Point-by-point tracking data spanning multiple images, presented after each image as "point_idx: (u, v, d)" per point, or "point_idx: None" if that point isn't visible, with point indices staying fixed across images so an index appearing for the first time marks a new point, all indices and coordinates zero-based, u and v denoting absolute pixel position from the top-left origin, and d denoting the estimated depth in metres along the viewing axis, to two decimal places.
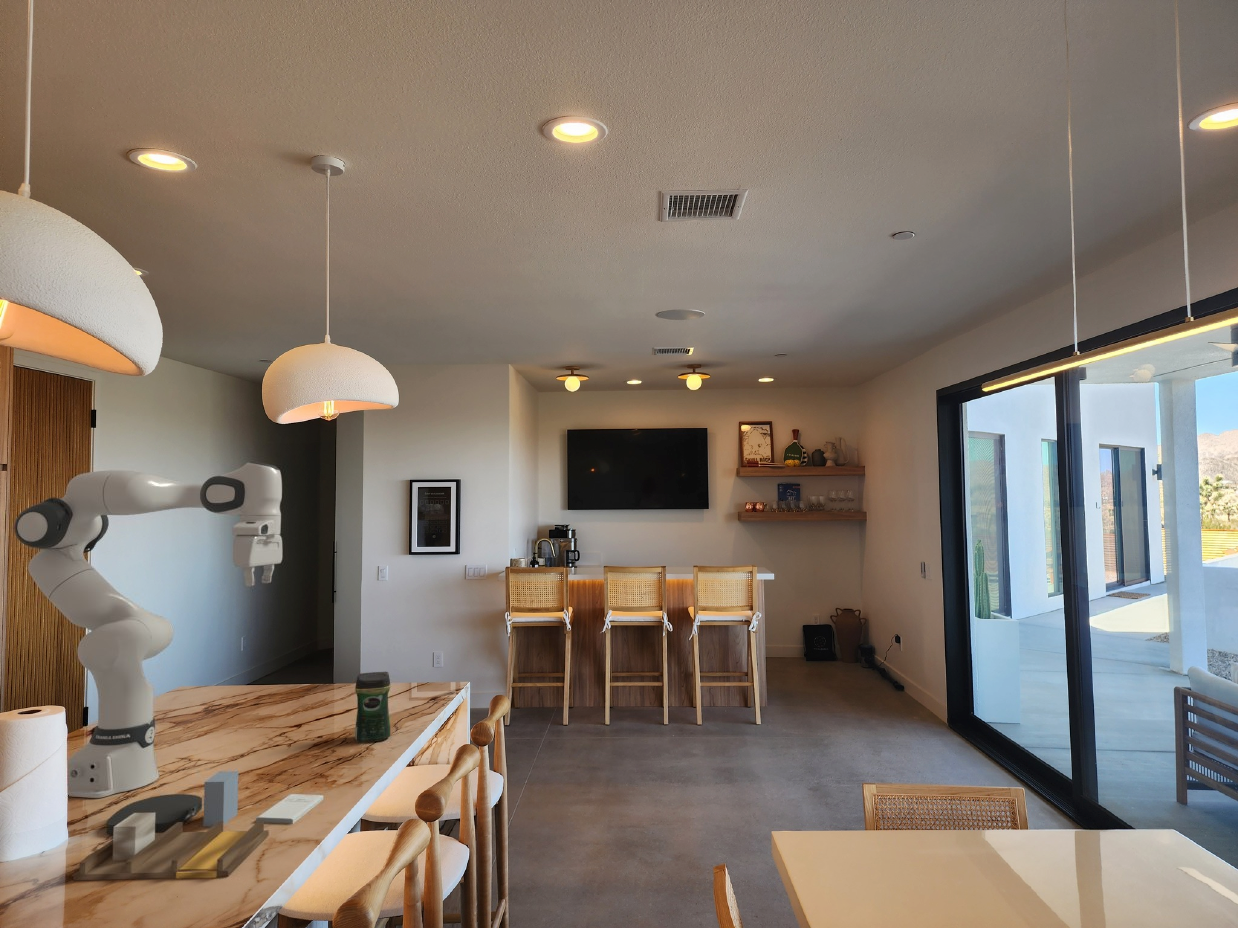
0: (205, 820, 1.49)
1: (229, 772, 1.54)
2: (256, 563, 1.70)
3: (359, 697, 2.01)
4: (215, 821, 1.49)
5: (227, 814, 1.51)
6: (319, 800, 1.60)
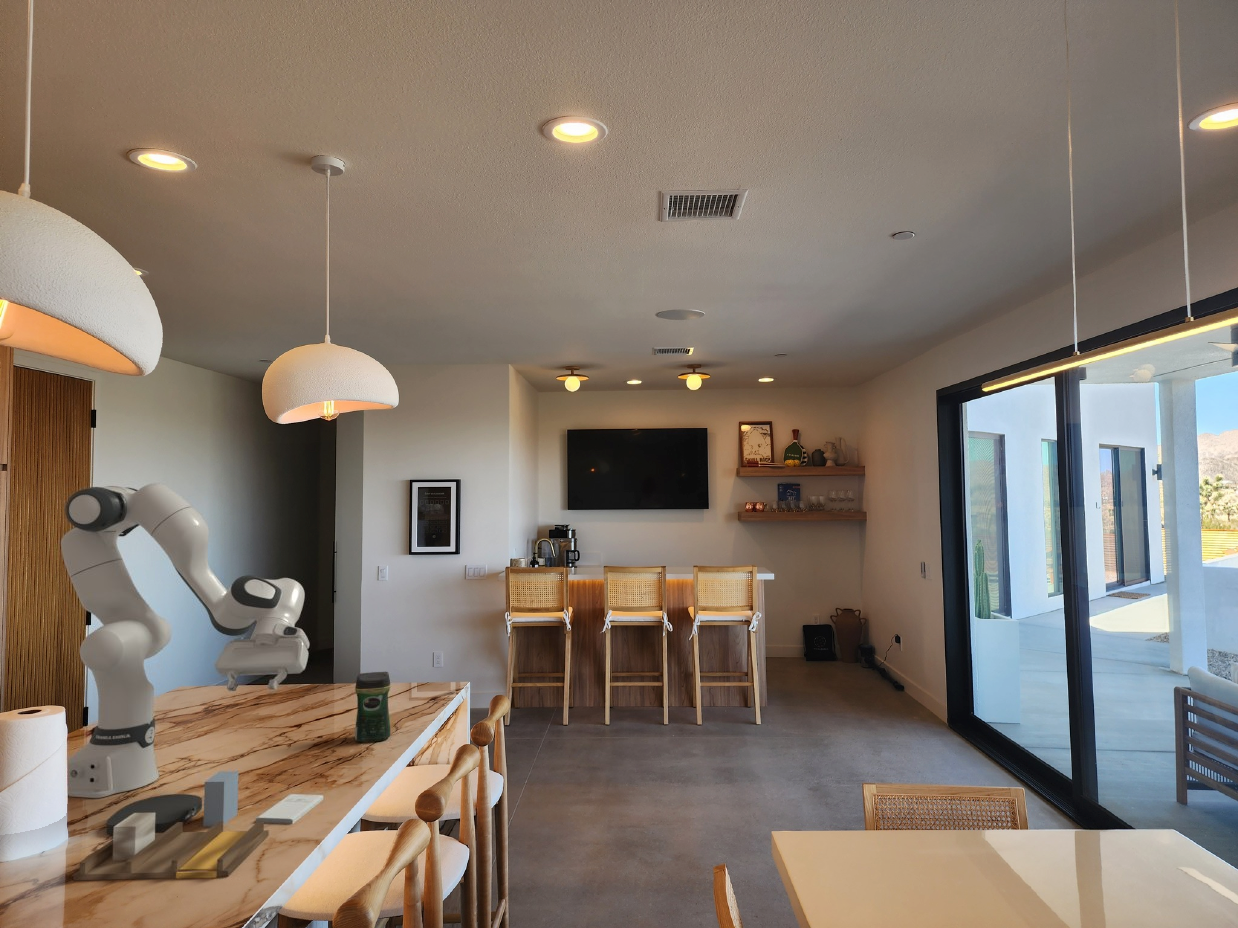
0: (205, 820, 1.49)
1: (229, 772, 1.55)
2: None
3: (359, 697, 2.01)
4: (215, 821, 1.49)
5: (227, 814, 1.51)
6: (319, 800, 1.60)
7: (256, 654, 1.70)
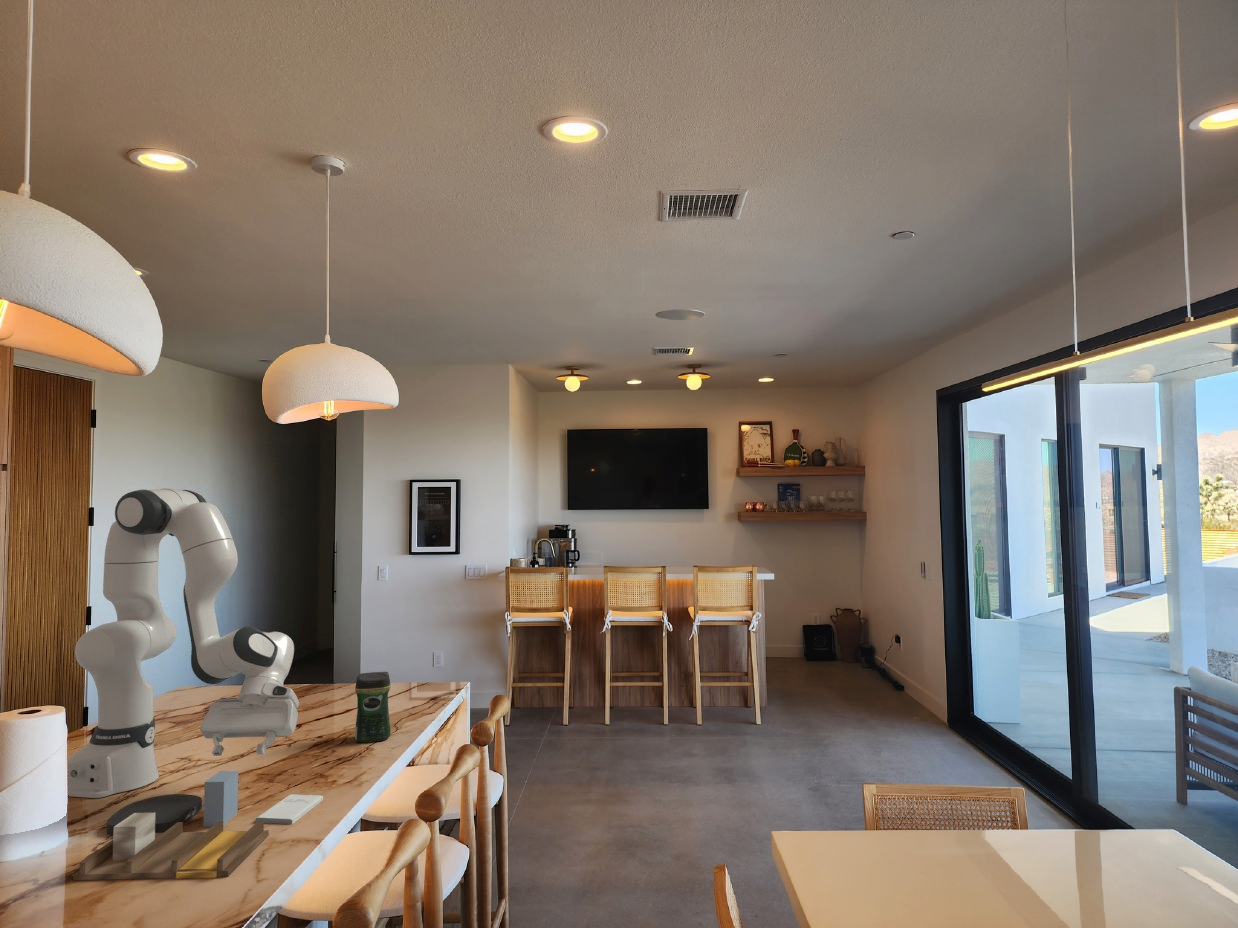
0: (205, 820, 1.49)
1: (229, 772, 1.54)
2: None
3: (359, 697, 2.01)
4: (215, 821, 1.49)
5: (227, 814, 1.51)
6: (319, 800, 1.60)
7: (243, 716, 1.64)
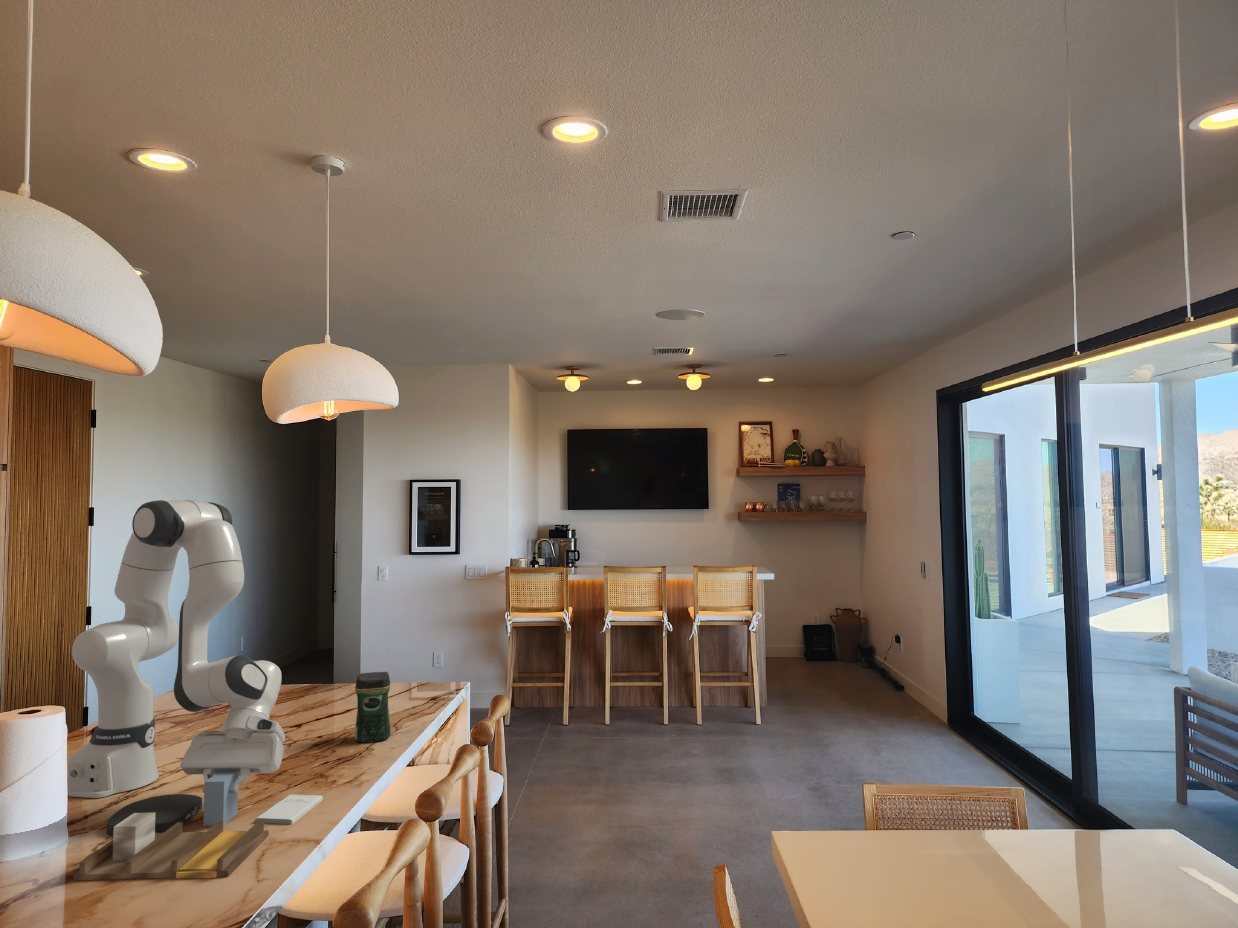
0: (205, 820, 1.49)
1: (229, 772, 1.55)
2: None
3: (359, 697, 2.01)
4: (215, 821, 1.49)
5: (227, 814, 1.51)
6: (318, 800, 1.60)
7: (226, 751, 1.56)
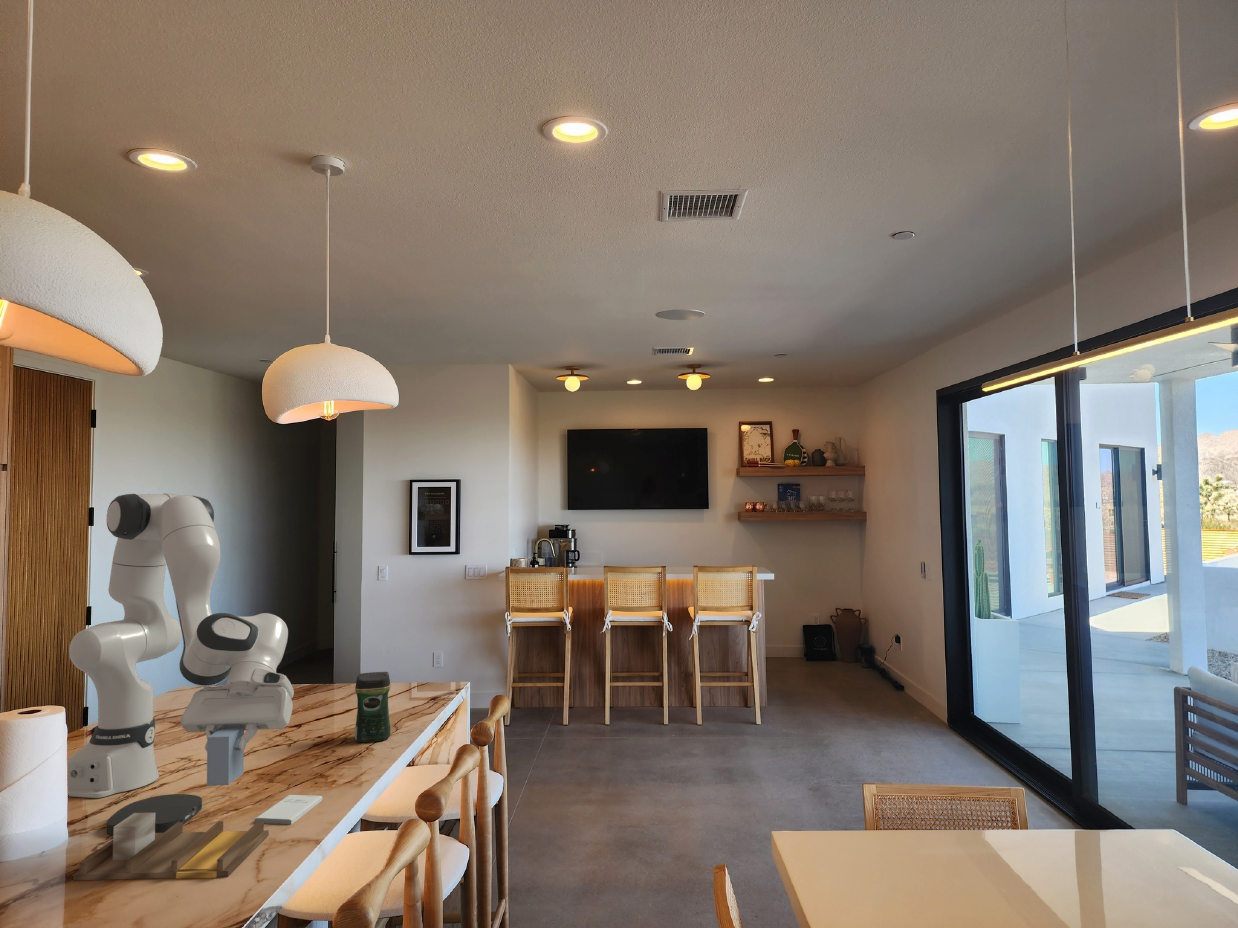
0: (208, 779, 1.36)
1: (234, 728, 1.42)
2: None
3: (359, 697, 2.01)
4: (219, 780, 1.36)
5: (233, 773, 1.38)
6: (318, 801, 1.60)
7: (230, 706, 1.43)
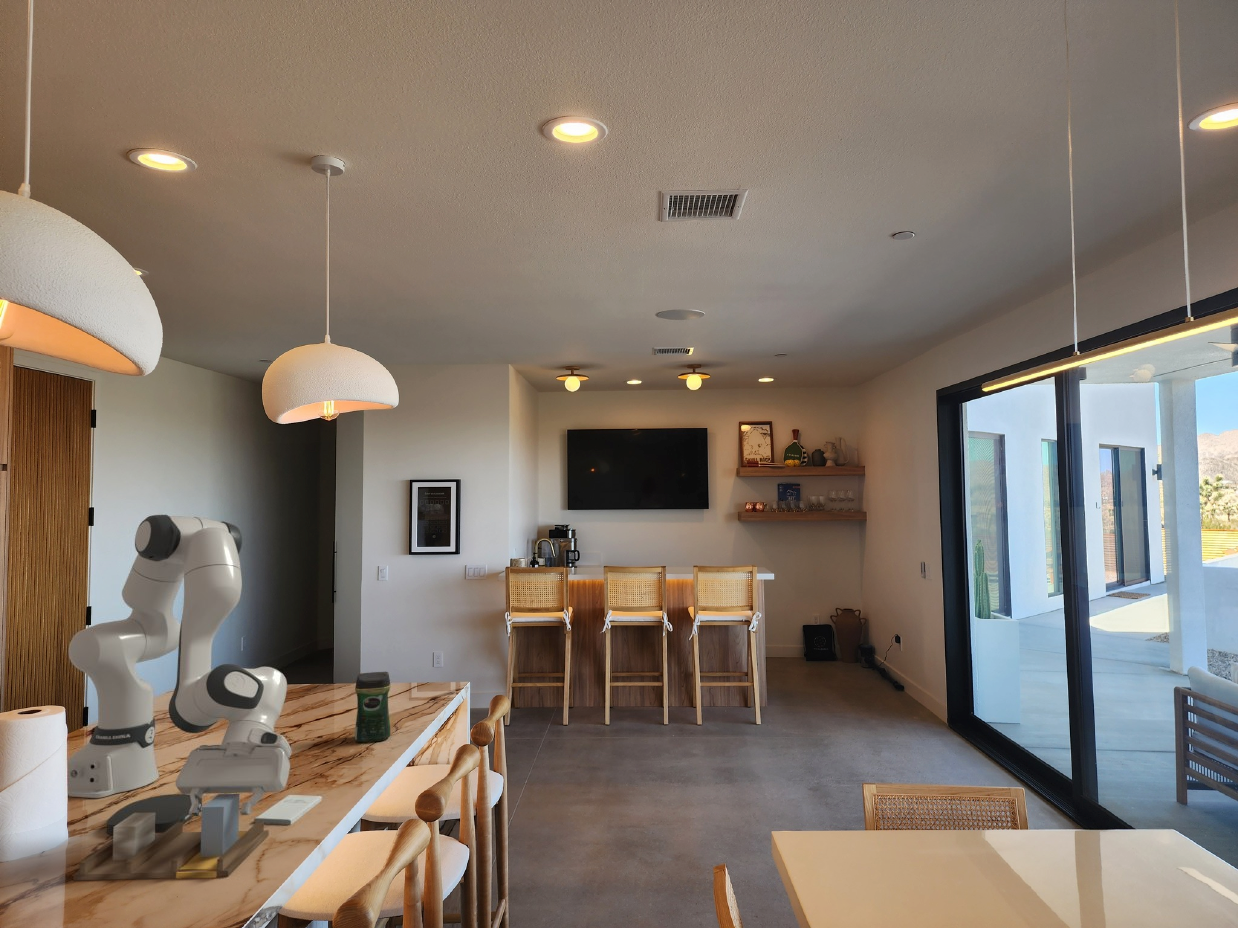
0: (202, 850, 1.33)
1: (229, 795, 1.39)
2: None
3: (359, 697, 2.01)
4: (213, 851, 1.33)
5: (227, 843, 1.35)
6: (317, 801, 1.60)
7: (226, 768, 1.41)
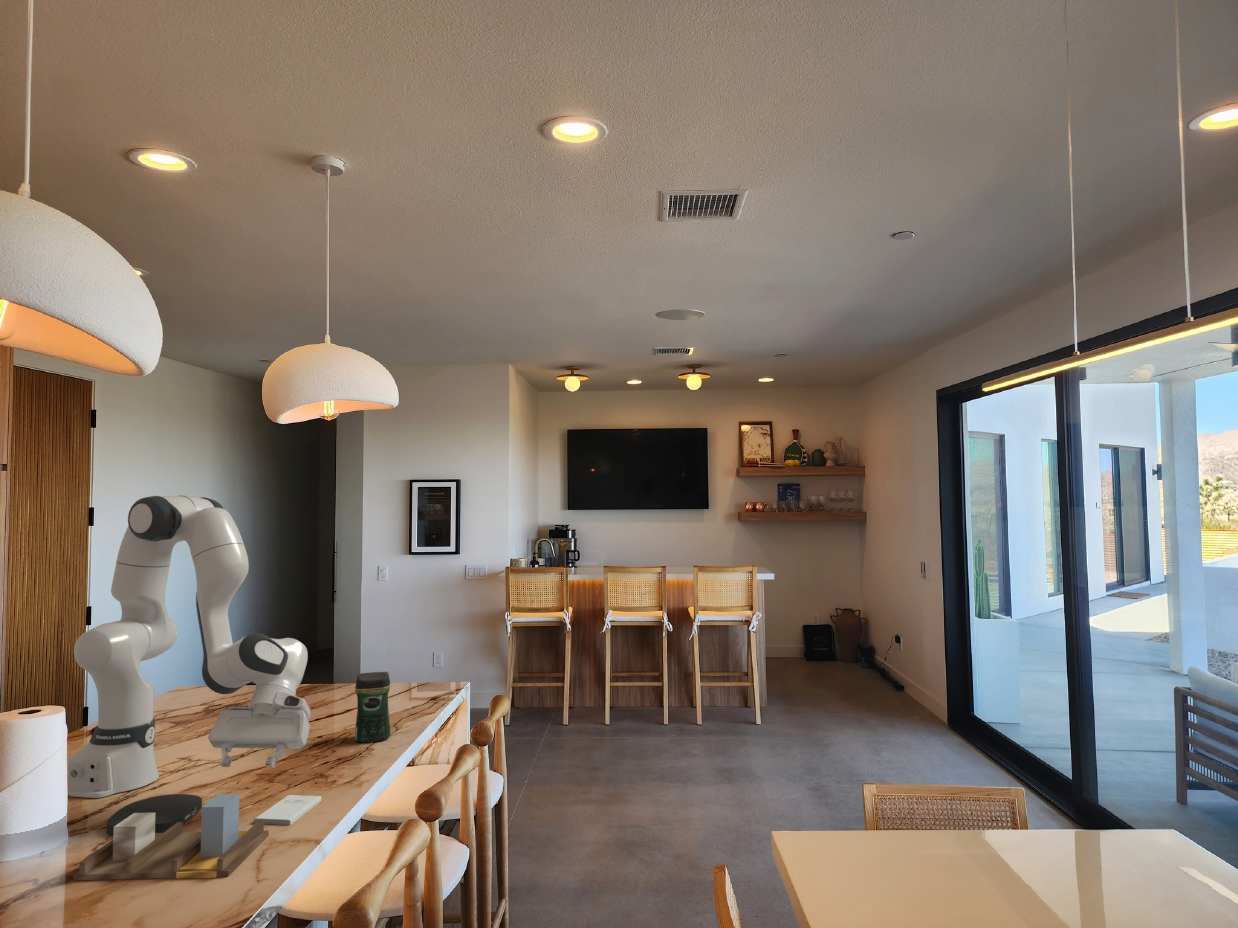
0: (202, 850, 1.33)
1: (229, 795, 1.39)
2: None
3: (359, 697, 2.01)
4: (213, 851, 1.33)
5: (227, 843, 1.35)
6: (317, 801, 1.60)
7: (254, 726, 1.57)
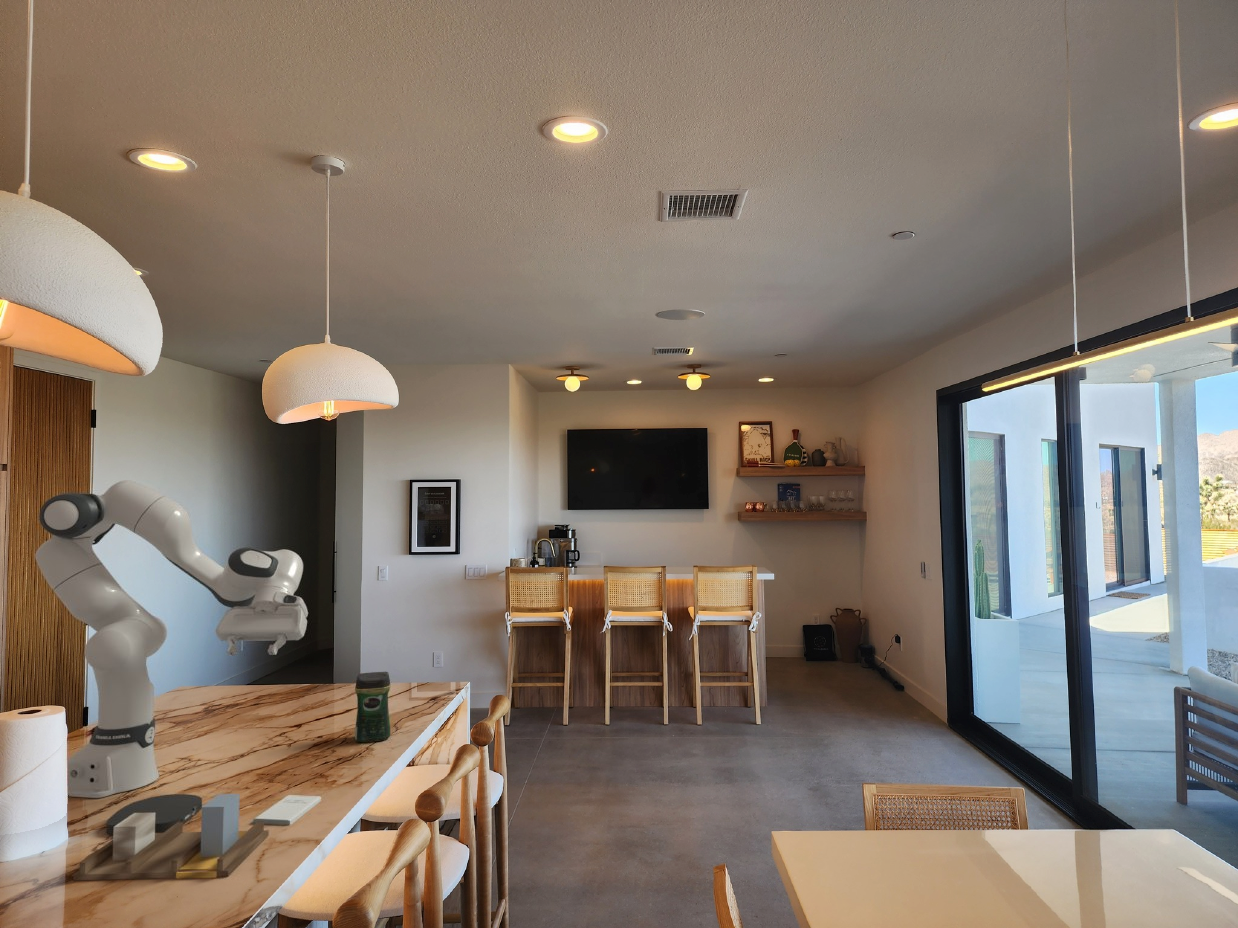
0: (202, 850, 1.33)
1: (229, 795, 1.39)
2: None
3: (359, 697, 2.01)
4: (213, 851, 1.33)
5: (227, 843, 1.35)
6: (317, 801, 1.60)
7: (256, 620, 1.75)
